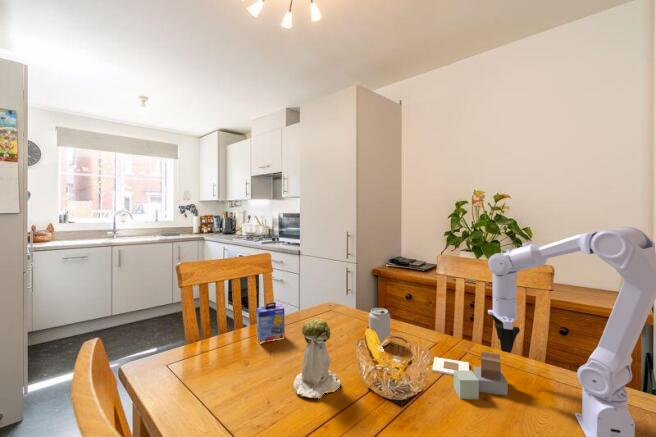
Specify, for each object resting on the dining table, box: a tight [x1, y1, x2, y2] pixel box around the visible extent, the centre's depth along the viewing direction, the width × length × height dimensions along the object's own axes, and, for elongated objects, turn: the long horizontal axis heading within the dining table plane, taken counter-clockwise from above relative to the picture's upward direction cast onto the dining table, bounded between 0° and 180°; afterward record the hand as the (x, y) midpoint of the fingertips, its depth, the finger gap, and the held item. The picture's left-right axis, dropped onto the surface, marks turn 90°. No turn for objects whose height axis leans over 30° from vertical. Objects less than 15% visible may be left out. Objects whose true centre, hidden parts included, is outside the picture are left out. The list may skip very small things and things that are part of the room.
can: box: [368, 307, 391, 343], centre depth 111 cm, size 8×8×12 cm
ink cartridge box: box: [255, 301, 286, 342], centre depth 116 cm, size 10×6×14 cm, turn 115°
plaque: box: [431, 356, 470, 376], centre depth 93 cm, size 8×10×1 cm
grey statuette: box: [292, 318, 341, 400], centre depth 86 cm, size 12×13×18 cm
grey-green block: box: [453, 370, 480, 400], centre depth 81 cm, size 5×5×5 cm
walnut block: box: [480, 351, 502, 381], centre depth 84 cm, size 5×5×5 cm
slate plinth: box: [473, 365, 509, 396], centre depth 84 cm, size 7×7×4 cm
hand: (504, 345), depth 85 cm, fingers open, 7 cm apart
